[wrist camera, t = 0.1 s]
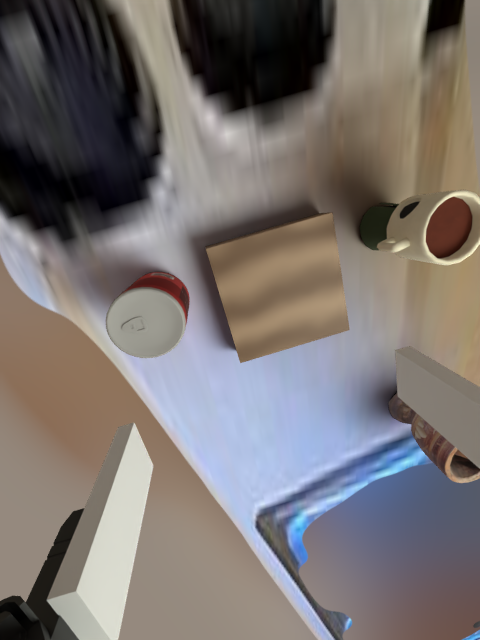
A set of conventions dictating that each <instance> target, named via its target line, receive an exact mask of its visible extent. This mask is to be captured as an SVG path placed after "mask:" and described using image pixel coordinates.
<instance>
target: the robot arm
mask: <svg viewBox="0 0 480 640" xmlns="http://www.w3.org/2000/svg"><path fill="white" fill-rule="evenodd" d="M395 357H396V375H397V393H398V397H399V398H400V399H401V400H402V401H404V402H405V403H406V404H407V405H408V406H409V407H410V408H411V409H413V410H414V411H415V412H416V413H417V414H418V415H419V416H421V417H422V418H423V419H424V420H425V421H426V422H427V423H428V424H430V425H431V426H432V427H433V428H434V429H435V430H436V431H438V432H439V433H440V434H441V435H442V436H443V437H444V438H445V439H447V440H448V441H449V442H450V443H451V444H452V445H453V446H455V447H456V448H457V449H458V450H459V451H460V452H461V453H463V454H464V455H465V456H466V457H467V458H468V459H469V460H470V461H472V462H473V463H474V464H475V465H476V466H477V467H478V468H480V387H478V386H477V385H475V384H473V383H472V382H470V381H468V380H466V379H465V378H463V377H461V376H460V375H458V374H456V373H455V372H453V371H451V370H449V369H448V368H446V367H444V366H443V365H441V364H439V363H438V362H436V361H434V360H432V359H431V358H429V357H427V356H426V355H424V354H422V353H420V352H419V351H417V350H415V349H414V348H412V347H410V346H409V347H405V348H401V349H398V350H395ZM152 470H153V464H152V462H151V460H150V457H149V455H148V453H147V450H146V448H145V446H144V444H143V441H142V439H141V437H140V435H139V433H138V430H137V428H136V426H135V423H131V424H128V425H124V426H121V427H118V429H117V431H116V434H115V436H114V439H113V441H112V443H111V446H110V448H109V451H108V453H107V456H106V458H105V460H104V463H103V465H102V468H101V470H100V473H99V475H98V477H97V480H96V482H95V485H94V487H93V489H92V492H91V494H90V497H89V499H88V501H87V504H86V506H85V508H84V509H80V510H77V511H73V512H72V514H71V515H70V516H69V518H68V519H67V520H66V521H65V523H64V524H63V525H62V526H61V528H60V531H59V533H58V535H57V537H56V539H55V541H54V546H52V548H51V550H50V552H49V554H48V556H47V560H46V561H45V563H44V565H43V567H42V569H41V571H40V574H39V576H38V578H37V580H36V582H35V584H34V586H33V588H32V591H31V593H30V595H29V597H28V599H27V601H26V603H25V601H24V600H23V599H22V598H21V597H20V596H11V597H8V598H6V599H3V600H2V601H0V640H118V637H119V632H120V628H121V622H122V618H123V613H124V608H125V603H126V598H127V593H128V588H129V583H130V578H131V573H132V569H133V564H134V559H135V554H136V549H137V544H138V539H139V534H140V529H141V524H142V519H143V515H144V510H145V505H146V499H147V495H148V490H149V485H150V480H151V475H152Z"/></svg>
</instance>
